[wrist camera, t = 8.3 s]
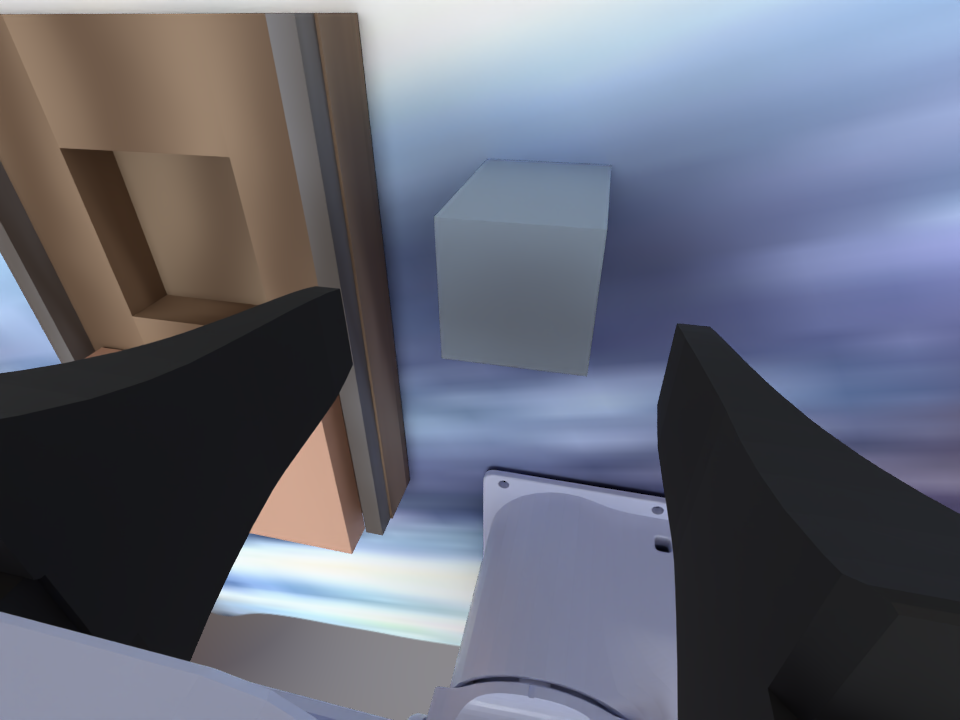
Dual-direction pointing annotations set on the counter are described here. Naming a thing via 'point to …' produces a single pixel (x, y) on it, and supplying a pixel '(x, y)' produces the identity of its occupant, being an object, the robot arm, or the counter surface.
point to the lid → (314, 490)
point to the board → (200, 191)
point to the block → (523, 264)
